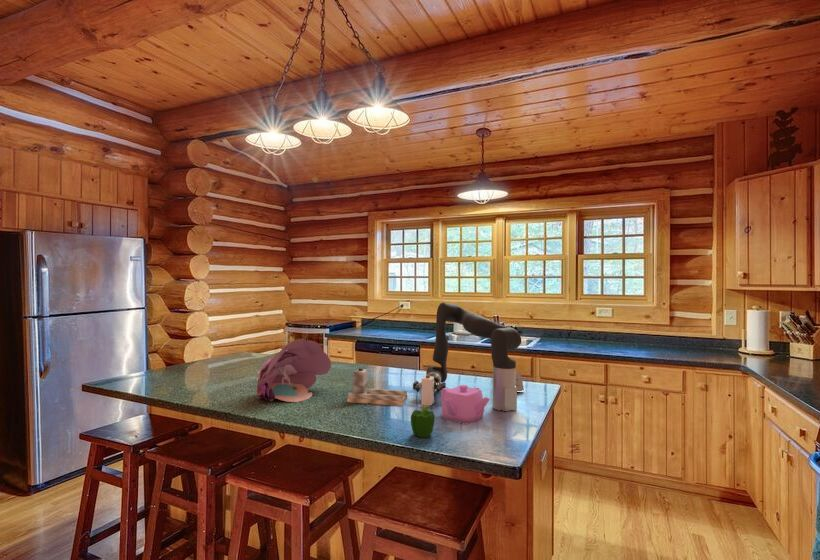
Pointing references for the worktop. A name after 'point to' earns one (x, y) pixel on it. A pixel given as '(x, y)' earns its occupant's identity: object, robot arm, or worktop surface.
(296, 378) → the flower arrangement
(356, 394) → the rail plate
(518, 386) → the electrical switch
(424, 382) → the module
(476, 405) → the teakettle
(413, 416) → the bell pepper
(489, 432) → the worktop surface
